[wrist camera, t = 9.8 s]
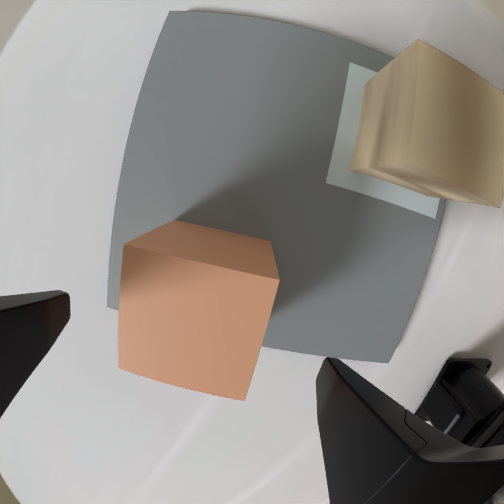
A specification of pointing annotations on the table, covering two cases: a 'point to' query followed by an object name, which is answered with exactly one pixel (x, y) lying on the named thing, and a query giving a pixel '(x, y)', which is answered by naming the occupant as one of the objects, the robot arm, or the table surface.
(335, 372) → the robot arm
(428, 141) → the maple block
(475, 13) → the table surface
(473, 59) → the table surface
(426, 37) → the table surface
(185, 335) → the terracotta block
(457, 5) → the table surface
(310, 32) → the board
